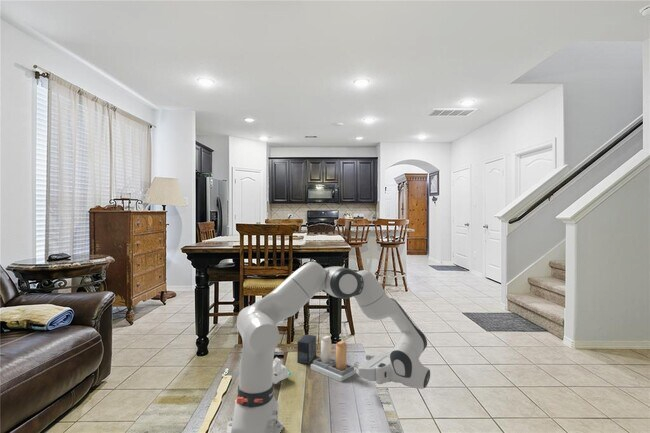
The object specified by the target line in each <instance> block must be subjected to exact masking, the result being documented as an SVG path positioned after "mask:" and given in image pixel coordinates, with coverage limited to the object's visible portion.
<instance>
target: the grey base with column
mask: <svg viewBox="0 0 650 433" xmlns="http://www.w3.org/2000/svg"><path fill="white" fill-rule="evenodd" d="M310 370H312V371H315V372H317V373H318V374H322V375H324V376H327V377H328V378H331V379H333V380H335V381H338V382H343V381H345V380H347V379H348V378H350V377H352V376H354V375H356V374H357V368H355V367H354V365H352V364H349V363H347V362H346V369H345V370H343V371H340V370H338V369H336V358H333V357H332V339H331V336H330V335H328V334H327V335H325V336H322V337H321V339H320V357H317V358H316V359H313V360H312V363H310Z"/></svg>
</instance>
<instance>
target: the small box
mask: <svg viewBox="0 0 650 433" xmlns="http://www.w3.org/2000/svg"><path fill="white" fill-rule="evenodd" d="M296 355H297V357H296V358H297V363H298V364H304V365H311V364H312V363H313V360H315V358H316V357H317V335H314V334H313V335H312V334H304V335H303V336H302V337H301V338H300V339H299V340H298V341H297V354H296ZM311 362H312V363H311Z"/></svg>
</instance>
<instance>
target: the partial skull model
mask: <svg viewBox="0 0 650 433" xmlns="http://www.w3.org/2000/svg"><path fill="white" fill-rule="evenodd" d="M291 375H292V374H291V371H290V370H288V369H287V368H286V366H285V365H284V364H283V363H282V360H281V359H280V358H279V357H278V356H276V357H275V358H273V384H274V385H277V384H278V383H279V382H280V381H283V380H286V379H287V378H288V377H289V376H291Z"/></svg>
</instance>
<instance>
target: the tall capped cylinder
mask: <svg viewBox="0 0 650 433" xmlns="http://www.w3.org/2000/svg"><path fill="white" fill-rule="evenodd" d="M346 343H347V342H346V340H343V339H342V340H340V341H338V342H336V344H335V359H336V369H338V370H340V371H343V370H345V369H346V363H347V348H348V347H347V344H346Z"/></svg>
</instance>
